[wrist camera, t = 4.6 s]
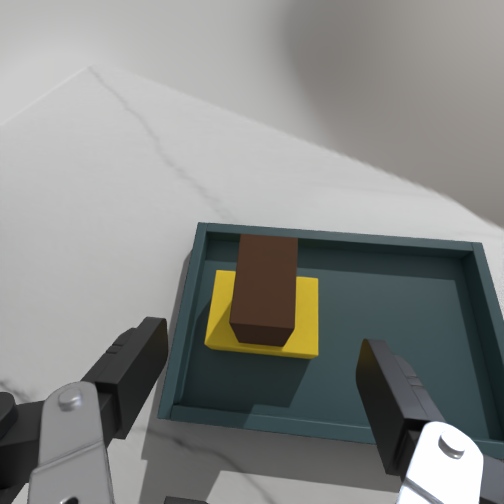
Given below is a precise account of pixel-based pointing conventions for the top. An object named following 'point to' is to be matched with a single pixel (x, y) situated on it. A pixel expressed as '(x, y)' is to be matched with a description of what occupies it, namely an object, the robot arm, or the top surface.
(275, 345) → the block on yellow base
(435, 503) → the robot arm
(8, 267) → the top surface
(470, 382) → the tray
